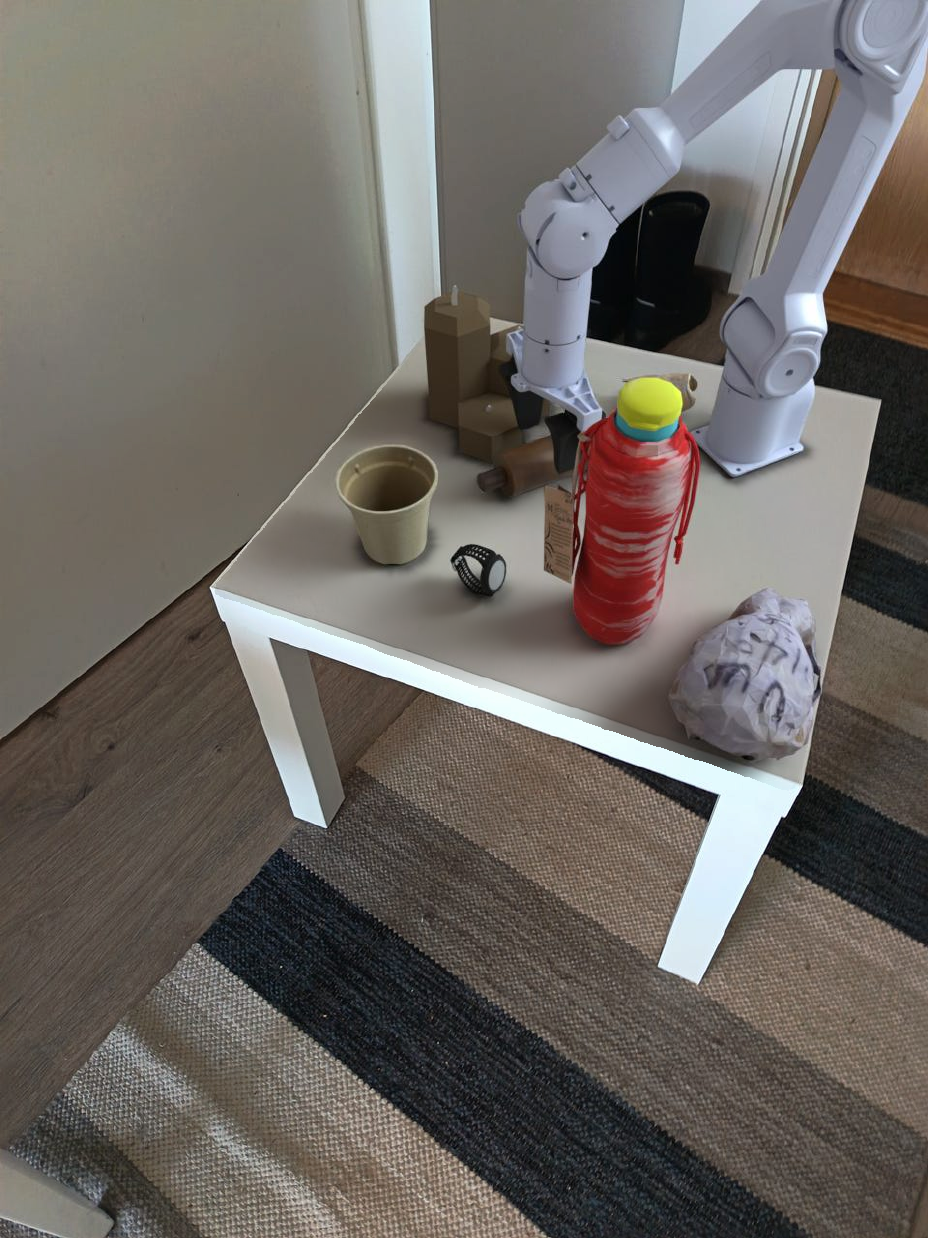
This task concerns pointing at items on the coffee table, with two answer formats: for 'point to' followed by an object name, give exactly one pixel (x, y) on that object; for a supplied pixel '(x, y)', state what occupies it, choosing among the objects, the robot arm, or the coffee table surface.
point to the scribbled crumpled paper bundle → (752, 680)
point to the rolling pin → (523, 468)
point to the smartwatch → (490, 572)
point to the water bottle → (624, 511)
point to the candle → (470, 375)
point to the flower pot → (389, 499)
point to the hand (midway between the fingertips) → (546, 446)
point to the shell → (678, 386)
